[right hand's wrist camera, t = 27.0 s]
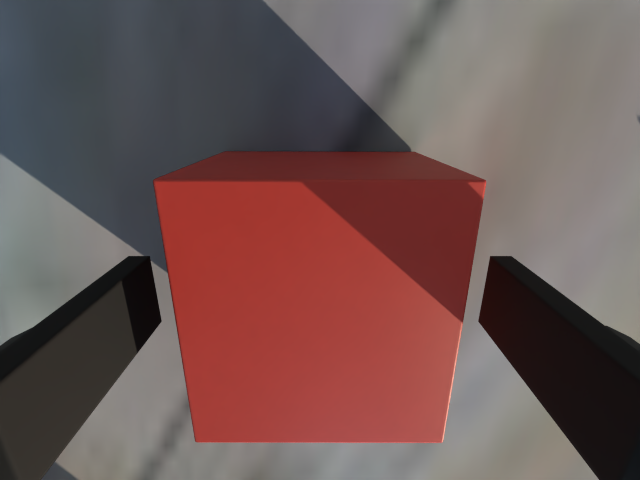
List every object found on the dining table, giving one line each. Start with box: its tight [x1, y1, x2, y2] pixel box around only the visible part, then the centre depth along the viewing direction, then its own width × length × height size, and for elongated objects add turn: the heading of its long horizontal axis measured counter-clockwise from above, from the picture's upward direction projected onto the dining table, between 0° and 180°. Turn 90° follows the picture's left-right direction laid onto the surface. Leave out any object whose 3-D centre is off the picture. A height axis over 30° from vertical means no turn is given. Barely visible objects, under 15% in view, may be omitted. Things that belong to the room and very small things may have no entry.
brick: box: [153, 151, 486, 443], centre depth 14 cm, size 9×9×7 cm
